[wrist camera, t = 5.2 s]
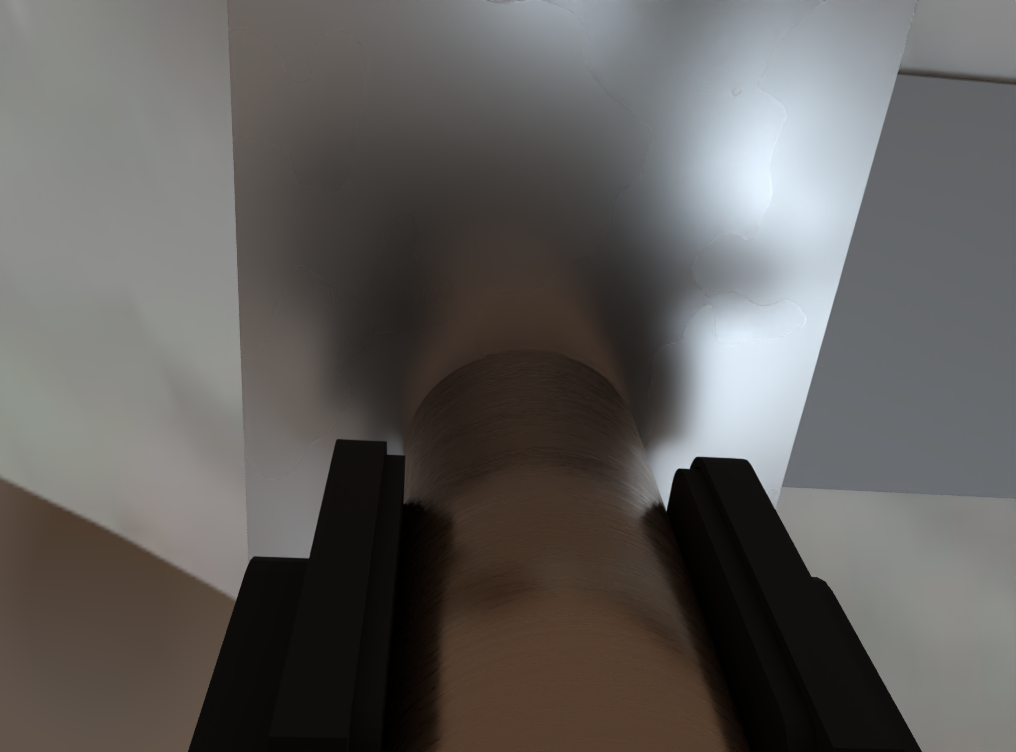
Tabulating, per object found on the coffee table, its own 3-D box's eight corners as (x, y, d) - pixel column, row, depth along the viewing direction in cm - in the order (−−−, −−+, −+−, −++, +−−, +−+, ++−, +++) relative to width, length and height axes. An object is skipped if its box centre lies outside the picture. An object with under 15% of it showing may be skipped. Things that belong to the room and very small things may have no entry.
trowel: (924, -186, 9) (2361, -497, 2) (726, 572, 14) (1008, 1259, 7) (241, -273, 9) (-669, -1068, 2) (263, 550, 13) (40, 1283, 6)
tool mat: (1193, 99, 27) (1203, 101, 26) (1029, 492, 33) (1035, 499, 33) (834, 67, 26) (839, 69, 25) (735, 478, 32) (738, 484, 32)
